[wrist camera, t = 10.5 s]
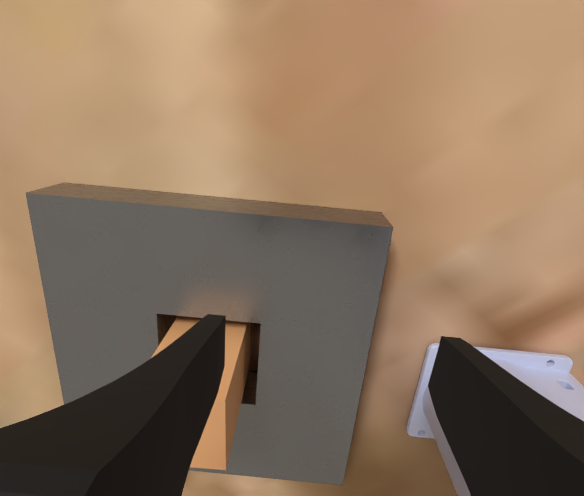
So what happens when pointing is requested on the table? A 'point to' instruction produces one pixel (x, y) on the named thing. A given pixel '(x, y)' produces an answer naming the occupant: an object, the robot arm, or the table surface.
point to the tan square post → (220, 391)
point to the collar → (220, 305)
